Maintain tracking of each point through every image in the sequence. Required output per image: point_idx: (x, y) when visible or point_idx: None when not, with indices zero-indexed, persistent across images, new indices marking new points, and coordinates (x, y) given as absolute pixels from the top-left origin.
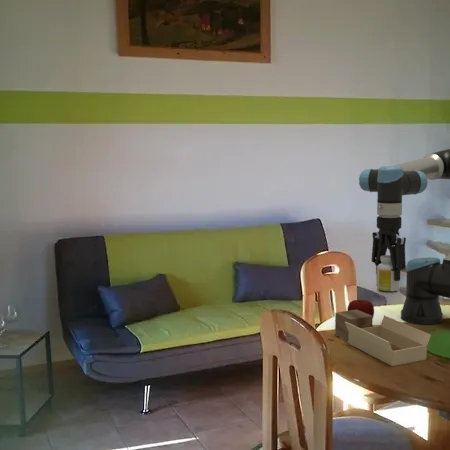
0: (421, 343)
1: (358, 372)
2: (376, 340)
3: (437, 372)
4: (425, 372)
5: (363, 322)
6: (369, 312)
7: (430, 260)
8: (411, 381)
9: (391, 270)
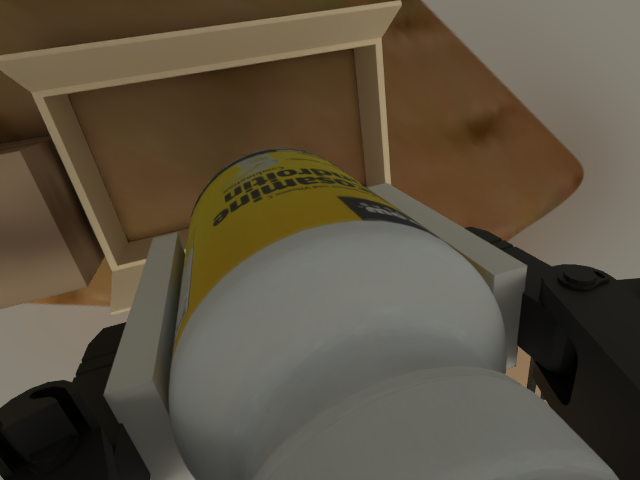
0: (352, 43)
1: None
2: None
3: (460, 77)
4: (446, 115)
5: (60, 204)
6: None
7: None
8: (476, 188)
9: (529, 387)
